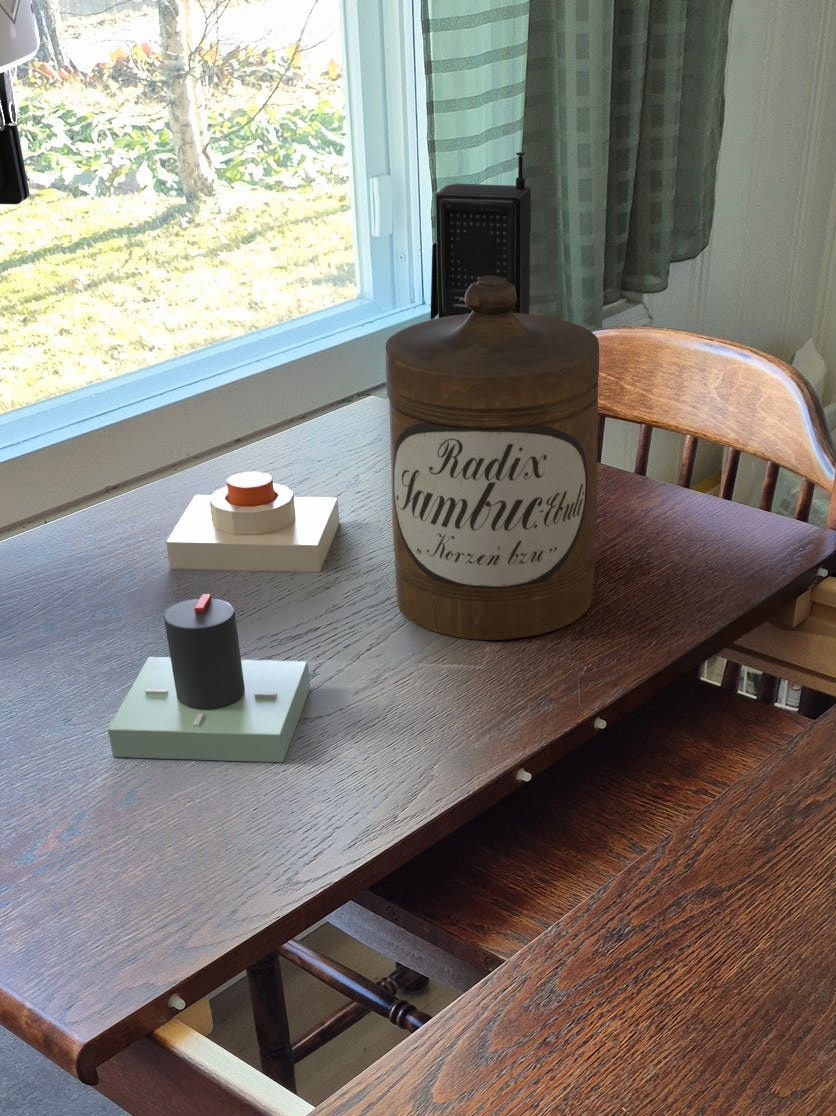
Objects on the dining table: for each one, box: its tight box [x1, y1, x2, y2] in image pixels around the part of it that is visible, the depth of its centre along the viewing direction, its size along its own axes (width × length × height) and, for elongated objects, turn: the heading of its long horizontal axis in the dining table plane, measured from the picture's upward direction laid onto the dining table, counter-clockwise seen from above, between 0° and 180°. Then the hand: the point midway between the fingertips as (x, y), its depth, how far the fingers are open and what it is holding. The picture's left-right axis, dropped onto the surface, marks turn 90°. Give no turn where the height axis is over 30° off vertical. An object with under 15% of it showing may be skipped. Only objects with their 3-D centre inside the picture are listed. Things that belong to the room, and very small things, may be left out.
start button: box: [226, 470, 275, 507], centre depth 113 cm, size 4×4×2 cm
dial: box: [163, 593, 245, 709], centre depth 91 cm, size 4×4×6 cm
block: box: [165, 482, 341, 573], centre depth 115 cm, size 12×10×4 cm
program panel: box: [107, 656, 311, 763], centre depth 94 cm, size 11×10×2 cm
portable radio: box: [429, 151, 532, 320], centre depth 118 cm, size 8×6×25 cm
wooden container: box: [384, 276, 600, 641], centre depth 101 cm, size 15×15×22 cm
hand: (1, 200), depth 90 cm, fingers closed
